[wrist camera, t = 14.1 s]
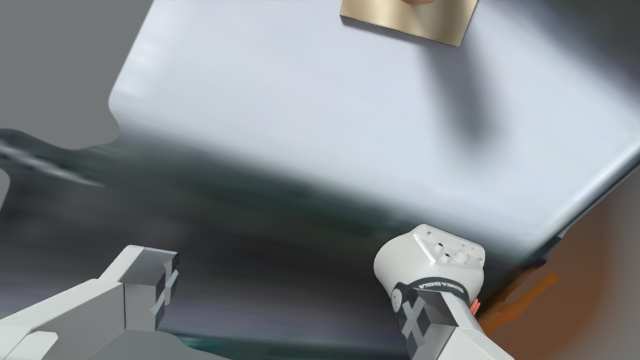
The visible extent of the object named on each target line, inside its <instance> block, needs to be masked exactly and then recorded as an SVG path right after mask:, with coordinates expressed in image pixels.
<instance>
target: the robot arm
mask: <svg viewBox="0 0 640 360" xmlns="http://www.w3.org/2000/svg"><path fill="white" fill-rule="evenodd" d="M428 232H429V233H428ZM484 261H485V251H484V249H483V247H482V246H480V245H478V244H476V243H473V242H471V241H468V240H465V239H463V238H460V237H458V236H455V235H452V234H450V233H447V232H445V231H442V230H439V229H437V228H434V227H432V226H429V225H426V224H421V225H419V226H417V227H416V228H415V229H413V230H412V231H411V232H409V233H407V234H404V235H401V236H398V237H396V238H394V239H392V240H390V241H389V242H388V243H386V244H385V245H384V246H383V247H382V248H381V249H380V250H379V252H378V254H377V255H376V258H375V261H374V272H375V275H376V277H377V278H378V280H379V281H380V282H381V283H382V285H383V286H384V288H385V290H386V291H387V293H388V295H389V297H390V299H391V302H392V307H393V311H394V314H395V317H396V320H397V322H398V325H399V328H400V330H401V332H402V333H403V335H404V336H405V338H406V343H405V344H406V347H407V350H408V353H409V356H410V359H411V360H515V359H513V358H512V357H511V356H510V355H508V354H507V353H506V352H505V351H503V350H502V349H501V348H500V347H499V346H497V345H496V344H495V343H494V342H492V341H491V340H490V339H489V338H487V336H486V335H485V333H484V332H483V330H482V329H481V327H480V325H479V324H478V322H477V321H476V319H475V315H474V314H475V313H476V311H477V309H478V308H479V305H480V303H478V304H477V301H478V300H477V299H475V298H476V296H477V295H478V293H479V291H480V289H481V287H482V284H483V280H484V273H483V269H482V268H483V265H484ZM178 263H179V254H178V253H177V252H171V251H165V250H159V249H153V248H148V247H147V248H145V247H140V246H134V245H129V246H127V247H126V248H125V249H124V250H123V251H122V252H121V253H120V255H119V256H118V257H117V258H116V259H115V260H114V261H113V263H112V264H111V265H110V266H109V267H108V268H107V270H106V271H105V272H104V273H103V274H102V275H101V276H100V278H99V279H91V280H89V281H87V282H85V283H82V284H80V285H78V286H76V287H73V288H71V289H69V290H66V291H64V292H62V293H60V294H57V295H55V296H53V297H51V298H48V299H46V300H44V301H42V302H39V303H37V304H35V305H33V306H30V307H28V308H26V309H24V310H21V311H19V312H17V313H15V314H13V315H10V316H8V317H6V318H3V319H1V320H0V360H86V359H88V358H89V357H90V356H92V355H93V354H94V353H96V352H97V351H98V350H100V349H101V348H102V347H104V346H105V345H106V344H108V343H109V342H110V341H112V340H113V339H115V338H116V337H117V336H119V335H120V334H121V333H123V332H124V331H125V329H127V330H128V329H129V330H139V331H152V332H155V331H156V329H157V327H158V325H159V323H160V321H161V319H162V317H163V315H164V308H165V305H167V304H168V303H170V302H171V299H172V297H173V295H174V292H175V289H176V286H177V281H178V272H177V271H176V270H175V269H176V267H177V265H178ZM474 299H475V301H474ZM473 301H474V303H473V304H472V306H471V308H470V305H471V303H472V302H473Z"/></svg>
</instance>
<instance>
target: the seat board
mask: <svg viewBox="0 0 640 360" xmlns="http://www.w3.org/2000/svg"><path fill="white" fill-rule="evenodd" d="M476 2H477V0H343V2H342V7H341V11H340V15H341V16H344V17H348V18H352V19H355V20H359V21H363V22H367V23H370V24H374V25H378V26H381V27H385V28H389V29H392V30H396V31H400V32H404V33H407V34H411V35H415V36H418V37H422V38H426V39H430V40H433V41H437V42H441V43H444V44H448V45H452V46H460V44H461V41H462V39H463V36H464V33H465V31H466V28H467V25H468V23H469V20H470V18H471V15H472V12H473V10H474V7H475V5H476Z"/></svg>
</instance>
